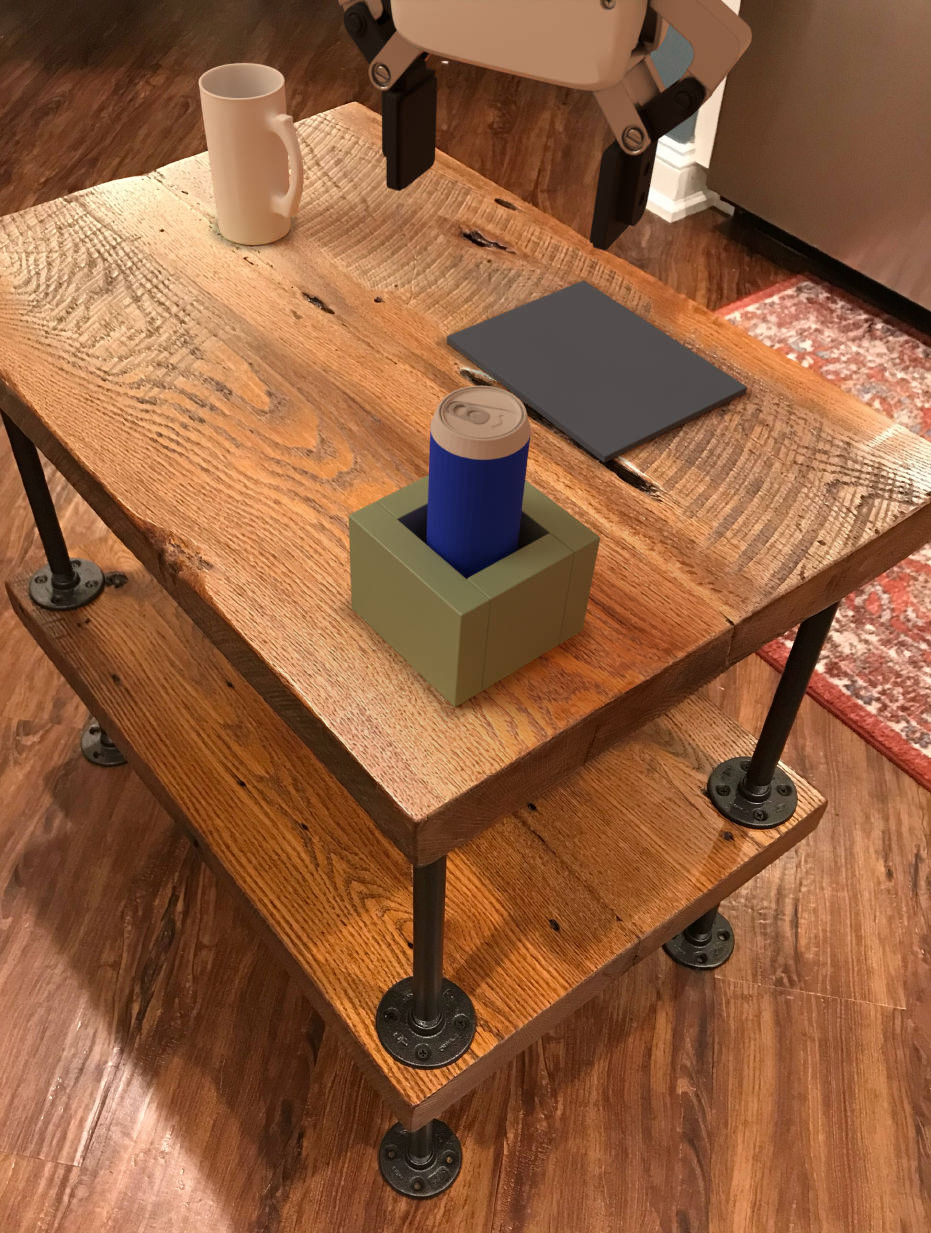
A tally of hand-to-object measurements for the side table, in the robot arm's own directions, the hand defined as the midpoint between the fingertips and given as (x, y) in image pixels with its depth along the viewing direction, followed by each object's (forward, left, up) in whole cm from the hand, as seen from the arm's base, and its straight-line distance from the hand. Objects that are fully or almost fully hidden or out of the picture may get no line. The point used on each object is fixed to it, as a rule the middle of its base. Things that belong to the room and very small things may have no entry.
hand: (508, 205), depth 49 cm
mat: (-9, -27, -26) cm, 39 cm away
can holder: (0, 0, -26) cm, 26 cm away
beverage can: (0, 0, -26) cm, 26 cm away
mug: (+18, -45, -26) cm, 56 cm away
